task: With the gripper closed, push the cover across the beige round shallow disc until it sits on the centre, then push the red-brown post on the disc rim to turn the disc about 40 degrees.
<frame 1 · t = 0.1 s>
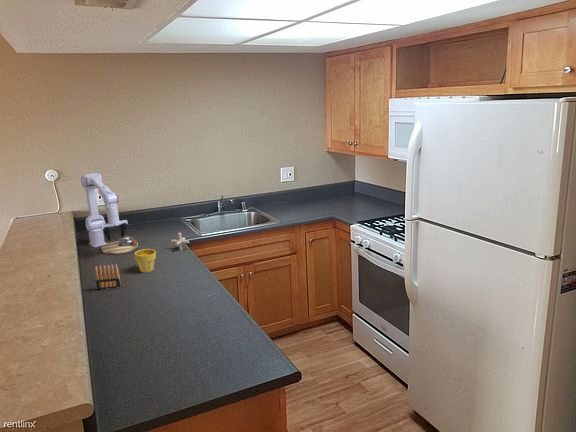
hand: (116, 238, 251), 10 cm above the countertop, tool pointing down, fingers open, 7 cm apart
pipe connector: (181, 250, 261), on the countertop
beige round shallow disc: (119, 244, 264), point 3 cm above the countertop, hinge at 0.0°, touching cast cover
plant pot: (147, 270, 233), on the countertop
ammunition clip: (109, 288, 212), on the countertop
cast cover: (127, 243, 267), point 2 cm above the countertop, touching beige round shallow disc
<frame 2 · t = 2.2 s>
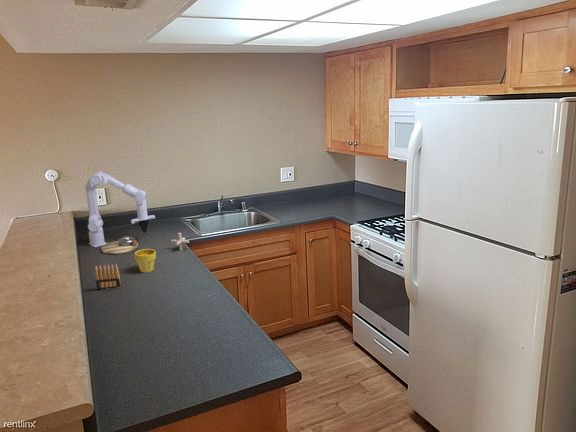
hand: (144, 232, 274), 6 cm above the countertop, tool pointing down, fingers closed
nothing on the countertop moved.
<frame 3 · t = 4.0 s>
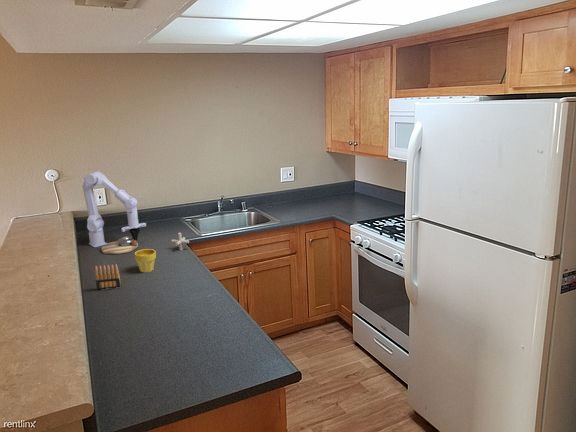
hand: (135, 240, 271), 3 cm above the countertop, tool pointing down, fingers closed
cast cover: (126, 244, 267), point 2 cm above the countertop, touching gripper, beige round shallow disc
everything else where it was.
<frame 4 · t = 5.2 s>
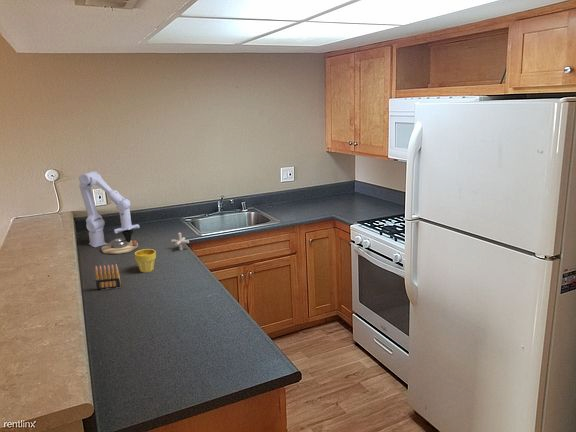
hand: (128, 242, 268), 3 cm above the countertop, tool pointing down, fingers closed
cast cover: (119, 245, 264), point 2 cm above the countertop, touching gripper, beige round shallow disc
everything else where it was.
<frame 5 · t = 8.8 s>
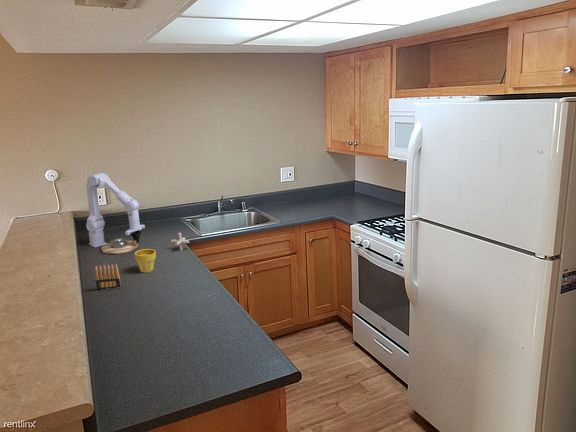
hand: (136, 243, 266), 3 cm above the countertop, tool pointing down, fingers closed
beige round shallow disc: (119, 244, 264), point 3 cm above the countertop, hinge at -1.4°, touching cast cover, gripper
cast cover: (119, 245, 264), point 2 cm above the countertop, touching beige round shallow disc
everything else where it was.
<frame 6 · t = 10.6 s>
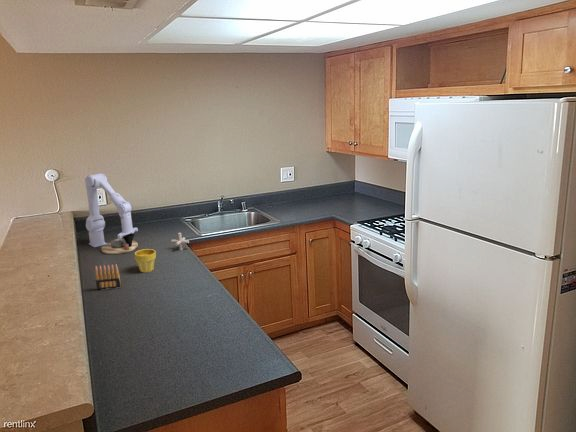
hand: (129, 246, 260), 3 cm above the countertop, tool pointing down, fingers closed
beige round shallow disc: (119, 244, 264), point 3 cm above the countertop, hinge at -42.8°, touching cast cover, gripper
everything else where it was.
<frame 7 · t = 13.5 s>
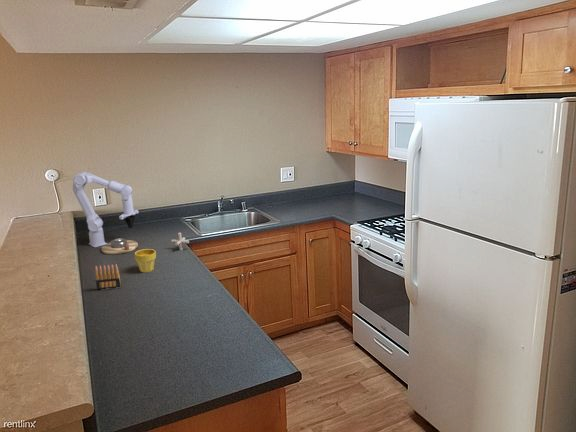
hand: (130, 227, 272), 9 cm above the countertop, tool pointing down, fingers closed
beige round shallow disc: (119, 244, 264), point 3 cm above the countertop, hinge at -42.8°, touching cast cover
everything else where it was.
at the end: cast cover 0.3 cm from the beige round shallow disc (horizontally); beige round shallow disc at -43° (first picture: +0°); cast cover tilted 0° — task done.
